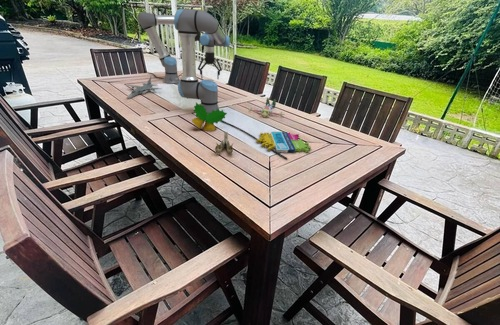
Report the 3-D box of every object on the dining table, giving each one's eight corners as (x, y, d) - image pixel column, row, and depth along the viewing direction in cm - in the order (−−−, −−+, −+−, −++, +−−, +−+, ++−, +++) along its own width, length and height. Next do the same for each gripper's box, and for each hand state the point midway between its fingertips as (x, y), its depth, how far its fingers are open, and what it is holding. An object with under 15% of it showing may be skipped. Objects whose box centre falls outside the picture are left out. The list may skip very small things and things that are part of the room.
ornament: (218, 133, 171) (224, 110, 169) (221, 134, 163) (227, 111, 161) (186, 125, 162) (192, 101, 160) (189, 126, 155) (195, 101, 153)
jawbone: (234, 135, 144) (233, 125, 135) (233, 160, 138) (232, 151, 129) (217, 135, 144) (216, 125, 135) (216, 160, 138) (214, 150, 129)
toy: (288, 100, 208) (284, 110, 182) (287, 109, 211) (283, 120, 186) (254, 96, 213) (245, 105, 187) (254, 104, 216) (245, 115, 190)
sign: (313, 150, 142) (258, 149, 139) (312, 153, 143) (258, 152, 140) (301, 132, 164) (254, 130, 161) (301, 134, 165) (254, 133, 162)
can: (201, 94, 231) (201, 79, 225) (208, 93, 238) (208, 78, 232) (208, 97, 227) (208, 81, 221) (215, 95, 233) (215, 80, 227)
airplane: (121, 88, 233) (119, 76, 228) (157, 85, 246) (156, 75, 241) (125, 101, 205) (123, 88, 199) (166, 97, 218) (165, 85, 213)
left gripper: (188, 31, 256) (189, 54, 266) (208, 31, 272) (209, 53, 283) (184, 30, 260) (185, 53, 271) (204, 30, 277) (204, 52, 287)
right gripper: (224, 52, 218) (224, 78, 229) (194, 50, 214) (195, 77, 224) (225, 53, 212) (224, 80, 222) (194, 51, 208) (195, 79, 218)
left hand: (197, 53), depth 277 cm, fingers open, 13 cm apart
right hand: (210, 78), depth 223 cm, fingers open, 13 cm apart
